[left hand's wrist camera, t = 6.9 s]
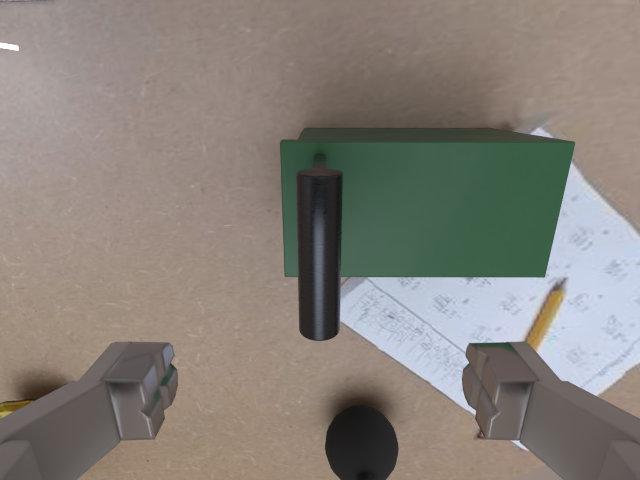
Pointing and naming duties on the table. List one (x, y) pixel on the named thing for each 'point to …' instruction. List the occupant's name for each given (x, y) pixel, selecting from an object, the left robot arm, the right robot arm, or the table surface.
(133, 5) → the table surface
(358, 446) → the bomb
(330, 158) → the lid
